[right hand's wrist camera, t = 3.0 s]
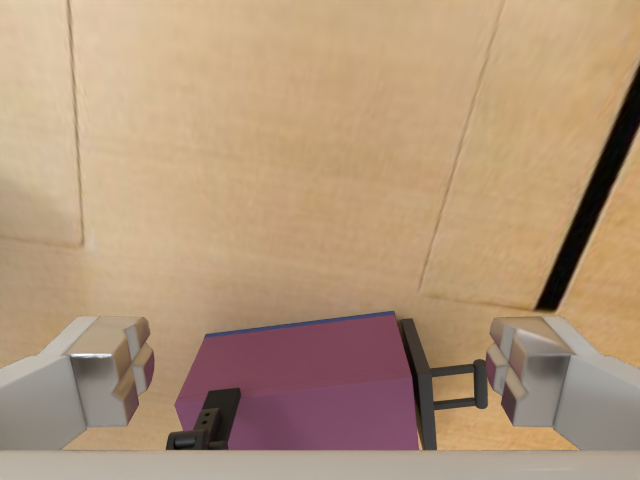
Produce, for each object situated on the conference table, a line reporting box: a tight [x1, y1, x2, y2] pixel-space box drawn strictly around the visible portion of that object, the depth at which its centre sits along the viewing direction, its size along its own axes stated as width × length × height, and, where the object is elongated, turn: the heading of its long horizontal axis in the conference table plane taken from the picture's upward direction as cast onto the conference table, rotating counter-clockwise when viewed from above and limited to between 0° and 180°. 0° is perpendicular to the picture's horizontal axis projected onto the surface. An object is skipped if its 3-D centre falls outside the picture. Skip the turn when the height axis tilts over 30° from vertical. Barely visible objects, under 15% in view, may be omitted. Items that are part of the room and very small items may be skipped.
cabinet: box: [175, 311, 419, 450], centre depth 45 cm, size 21×11×11 cm, turn 99°
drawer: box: [401, 319, 488, 450], centre depth 44 cm, size 26×10×9 cm, turn 99°
